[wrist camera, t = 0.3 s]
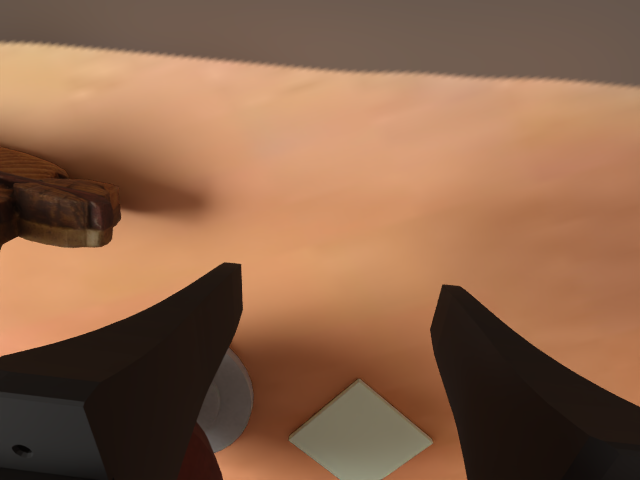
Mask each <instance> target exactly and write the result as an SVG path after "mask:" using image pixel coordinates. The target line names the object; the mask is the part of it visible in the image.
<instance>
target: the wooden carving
mask: <svg viewBox="0 0 640 480" xmlns="http://www.w3.org/2000/svg"><path fill="white" fill-rule="evenodd" d="M118 194H119V187H118V186H115V185H112V184H106V183H101V182H97V181H92V180H85V179H69V176H68V174H67V173H66V171H65V170H64V169H62V168H60V167H59V166H57V165H55V164H53V163H51V162H48V161H46V160H43V159H40V158H38V157H35V156H31V155H29V154H25V153H21V152H19V151H15V150H11V149H7V148H1V147H0V250H1V246H2V245H3V244H4V243H6V242H8V241H10V240H12V239H14V238H16V237H18V236H19V237H21V238H24V239H26V240H30V241H34V242H38V243H42V244H46V245H53V246H59V247H67V248H77V247H102V246H104V245H106V244H108V243H109V242H110V241H111V240H112V232H113V227H114V226H116V225H117V223H118V222H119V221H120V220H121V212H120V204H119V202H118Z"/></svg>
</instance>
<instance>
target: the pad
mask: <svg viewBox="0 0 640 480" xmlns="http://www.w3.org/2000/svg"><path fill="white" fill-rule="evenodd" d="M289 441H290V442H291V443H292V444H294V445H295V446H296V447H298V448H299V449H300V450H302V451H303V452H304V453H306V454H307V455H308V456H310V457H311V458H312V459H314V460H315V461H316V462H318V463H319V464H320V465H321V466H323V467H324V468H325V469H327V470H328V471H329V472H331V473H332V474H333V475H335V476H336V477H337V478H339V479H340V480H382V479H383V478H385V477H386V476H387V475H389V474H390V473H392V472H393V471H395V470H396V469H397V468H399V467H400V466H402V465H403V464H404V463H406V462H407V461H409V460H410V459H411V458H413V457H414V456H416V455H417V454H419V453H420V452H421V451H423V450H424V449H426V448H427V447H428V446H430V445H431V444H433V441H432V439H431V438H430V437H429V436H428V435H427V434H425V433H424V432H423V431H422V430H421V429H419V428H418V427H417V426H416V425H415V424H413V423H412V422H411V421H410V420H409V419H407V418H406V417H405V416H404V415H403V414H401V413H400V412H399V411H398V410H397V409H395V408H394V407H393V406H392V405H391V404H389V403H388V402H387V401H386V400H385V399H383V398H382V397H381V396H380V395H379V394H377V393H376V392H375V391H374V390H373V389H371V388H370V387H369V386H368V385H367V384H365V383H364V382H363V381H362V380H361V379H357V380H356V381H355V382H354V383H353V384H351V385H350V386H349V387H348V388H347V389H345V390H344V391H343V392H342V393H341V394H339V395H338V396H337V397H336V398H335V399H333V400H332V401H331V402H330V403H329V404H327V405H326V406H325V407H324V408H322V409H321V410H320V411H319V412H318V413H316V414H315V415H314V416H313V417H312V418H310V419H309V420H308V421H307V422H306V423H304V424H303V425H302V426H301V427H300V428H298V429H297V430H296V431H295V432H294V433H292V434H291V435H290V436H289Z"/></svg>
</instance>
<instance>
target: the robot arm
mask: <svg viewBox="0 0 640 480" xmlns="http://www.w3.org/2000/svg"><path fill="white" fill-rule="evenodd" d="M242 311H243V302H242V276H241V264H235V263H225V262H224V263H223V264H221V265H219V266H218V267H216V268H215V269H213V270H212V271H210V272H209V273H207V274H206V275H204V276H203V277H201V278H199V279H198V280H196V281H195V282H193V283H192V284H190V285H189V286H187V287H185V288H184V289H182V290H180V291H179V292H177V293H175V294H173V295H172V296H170V297H168V298H167V299H165V300H163V301H161V302H159V303H158V304H156V305H154V306H152V307H150V308H148V309H146V310H144V311H141V312H139V313H137V314H135V315H133V316H131V317H128V318H126V319H123V320H121V321H118V322H116V323H113V324H111V325H108V326H105V327H103V328H100V329H98V330H95V331H92V332H89V333H86V334H83V335H80V336H77V337H74V338H70V339H67V340H64V341H60V342H57V343H53V344H50V345H46V346H42V347H38V348H34V349H30V350H26V351H21V352H17V353H13V354H9V355H4V356H1V357H0V480H177V478H178V475H179V472H180V468H181V465H182V462H183V459H184V456H185V453H186V450H187V447H188V444H189V441H190V438H191V435H192V432H193V430H194V427H195V424H196V421H197V418H198V416H199V413H200V410H201V407H202V404H203V402H204V399H205V397H206V394H207V392H208V390H209V387H210V385H211V383H212V381H213V379H214V377H215V375H216V373H217V371H218V369H219V367H220V364H221V362H222V360H223V358H224V356H225V354H226V352H227V350H228V348H229V346H230V344H231V341H232V339H233V337H234V335H235V333H236V330H237V327H238V324H239V320H240V317H241V314H242ZM430 332H431V338H432V345H433V350H434V355H435V359H436V362H437V365H438V368H439V372H440V375H441V378H442V381H443V384H444V387H445V390H446V393H447V397H448V400H449V403H450V406H451V409H452V412H453V415H454V419H455V422H456V426H457V430H458V435H459V439H460V444H461V449H462V454H463V458H464V464H465V469H466V474H467V480H640V407H639V406H637V405H635V404H633V403H631V402H629V401H626V400H624V399H622V398H620V397H618V396H616V395H615V394H613V393H611V392H609V391H607V390H605V389H603V388H601V387H599V386H598V385H596V384H594V383H592V382H591V381H589V380H587V379H585V378H584V377H582V376H580V375H578V374H576V373H575V372H573V371H571V370H570V369H568V368H567V367H565V366H563V365H562V364H560V363H559V362H557V361H556V360H554V359H553V358H551V357H549V356H548V355H546V354H545V353H543V352H542V351H540V350H539V349H538V348H536V347H535V346H533V345H532V344H531V343H529V342H528V341H527V340H525V339H524V338H523V337H521V336H520V335H519V334H517V333H516V332H515V331H513V330H512V329H511V328H510V327H508V326H507V325H506V324H505V323H503V322H502V321H501V320H500V319H499V318H497V317H496V316H495V315H494V314H493V313H492V312H490V311H489V310H488V309H487V308H486V307H485V306H483V305H482V304H481V303H480V302H479V301H478V300H476V299H475V298H474V297H473V296H472V295H471V294H469V293H468V292H467V291H466V290H465V289H463V288H462V287H460V286H453V285H442V288H441V292H440V296H439V299H438V303H437V307H436V310H435V314H434V317H433V321H432V325H431V328H430Z"/></svg>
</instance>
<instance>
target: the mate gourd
mask: <svg viewBox="0 0 640 480" xmlns="http://www.w3.org/2000/svg"><path fill="white" fill-rule="evenodd" d="M253 397H254V394H253V388H252V382H251V380H250V377H249V375H248V372H247V370H246V368H245V367H244V365H243V364H242V362H241V361H240V359H239V357H238V356H237V355H236V354H235V353H234V352H233V351H232V350H231V349H230V348H228V350H227V352H226V354H225V356H224V358H223V360H222V362H221V364H220V367H219V369H218V371H217V373H216V375H215V377H214V379H213V381H212V383H211V385H210V387H209V390H208V392H207V394H206V397H205V399H204V402H203V404H202V407H201V410H200V413H199V416H198V418H197V421H196V424H195V427H194V430H193V432H192V435H191V438H190V441H189V444H188V447H187V450H186V453H185V456H184V459H183V462H182V465H181V468H180V472H179V475H178V478H177V480H223V478H222V473H221V471H220V468H219V465H218V463H217V460H216V457H215V455H214V453H215V452H218V451H221V450H223V449H224V448H226V447H227V446H229V445H231V444H232V443H233V442H234V441H235V440H236V439H237V438H238V437H239V436H240V435H241V434H242V432H243V431H244V429H245V427H246V426H247V423H248V420H249V417H250V414H251V411H252V408H253Z"/></svg>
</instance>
